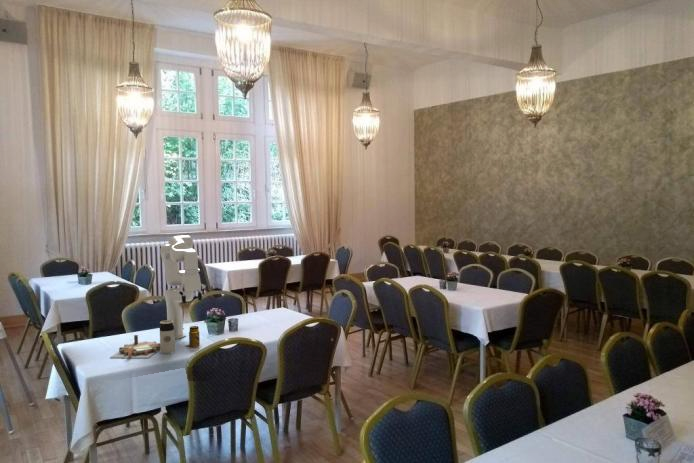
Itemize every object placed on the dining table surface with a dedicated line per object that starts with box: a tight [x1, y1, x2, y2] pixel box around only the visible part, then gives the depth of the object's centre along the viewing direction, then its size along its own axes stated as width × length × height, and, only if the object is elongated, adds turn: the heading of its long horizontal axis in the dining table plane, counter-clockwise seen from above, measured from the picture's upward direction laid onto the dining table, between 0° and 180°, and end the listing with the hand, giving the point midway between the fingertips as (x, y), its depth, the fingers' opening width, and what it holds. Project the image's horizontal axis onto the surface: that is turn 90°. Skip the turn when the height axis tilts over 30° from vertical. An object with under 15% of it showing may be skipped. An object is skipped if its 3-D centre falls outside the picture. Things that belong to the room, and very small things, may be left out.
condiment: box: [184, 325, 202, 349], centre depth 328 cm, size 7×8×12 cm
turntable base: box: [109, 348, 160, 360], centre depth 318 cm, size 26×22×6 cm
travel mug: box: [159, 319, 176, 355], centre depth 317 cm, size 8×8×18 cm
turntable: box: [118, 334, 160, 355], centre depth 320 cm, size 23×23×7 cm
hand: (192, 301), depth 315 cm, fingers open, 9 cm apart
